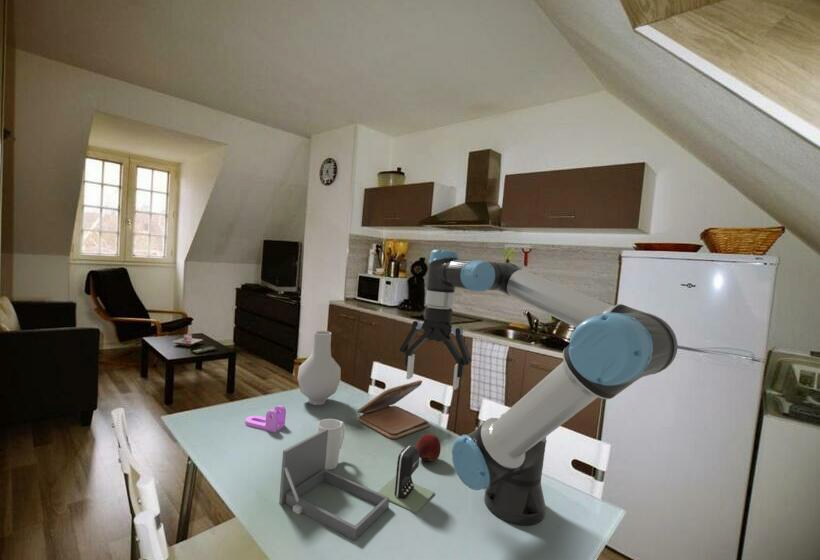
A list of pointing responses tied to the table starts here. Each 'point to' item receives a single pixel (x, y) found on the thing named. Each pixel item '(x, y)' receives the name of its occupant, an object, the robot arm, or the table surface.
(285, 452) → the case
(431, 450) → the apple
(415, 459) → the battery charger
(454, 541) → the table surface
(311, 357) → the vase
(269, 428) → the bracket
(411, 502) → the mat
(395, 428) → the case
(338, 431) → the mug
